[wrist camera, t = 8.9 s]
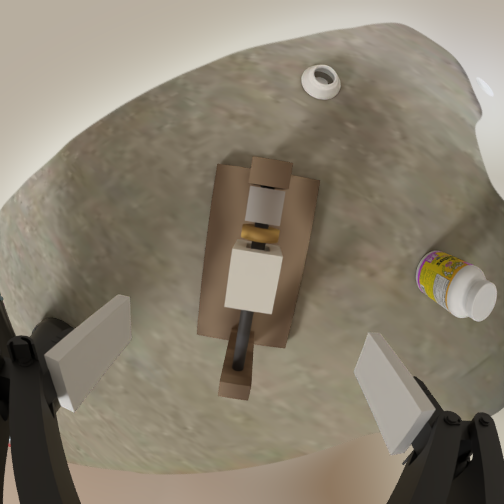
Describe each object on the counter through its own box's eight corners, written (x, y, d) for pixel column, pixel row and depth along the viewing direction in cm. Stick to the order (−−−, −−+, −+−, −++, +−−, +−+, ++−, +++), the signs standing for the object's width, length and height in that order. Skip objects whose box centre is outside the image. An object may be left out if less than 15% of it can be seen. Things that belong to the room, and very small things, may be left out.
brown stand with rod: (199, 329, 37) (174, 386, 24) (219, 165, 32) (193, 149, 19) (284, 342, 36) (292, 405, 24) (317, 181, 32) (350, 175, 19)
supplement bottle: (449, 249, 33) (506, 273, 20) (443, 291, 34) (493, 325, 22) (416, 249, 33) (474, 275, 20) (410, 293, 34) (459, 333, 22)
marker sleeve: (230, 288, 27) (224, 306, 22) (237, 239, 26) (232, 248, 21) (270, 295, 27) (271, 314, 22) (279, 246, 26) (282, 256, 21)
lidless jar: (295, 90, 29) (331, 106, 30) (298, 81, 27) (337, 99, 27) (308, 62, 28) (343, 78, 29) (312, 52, 26) (350, 69, 26)
